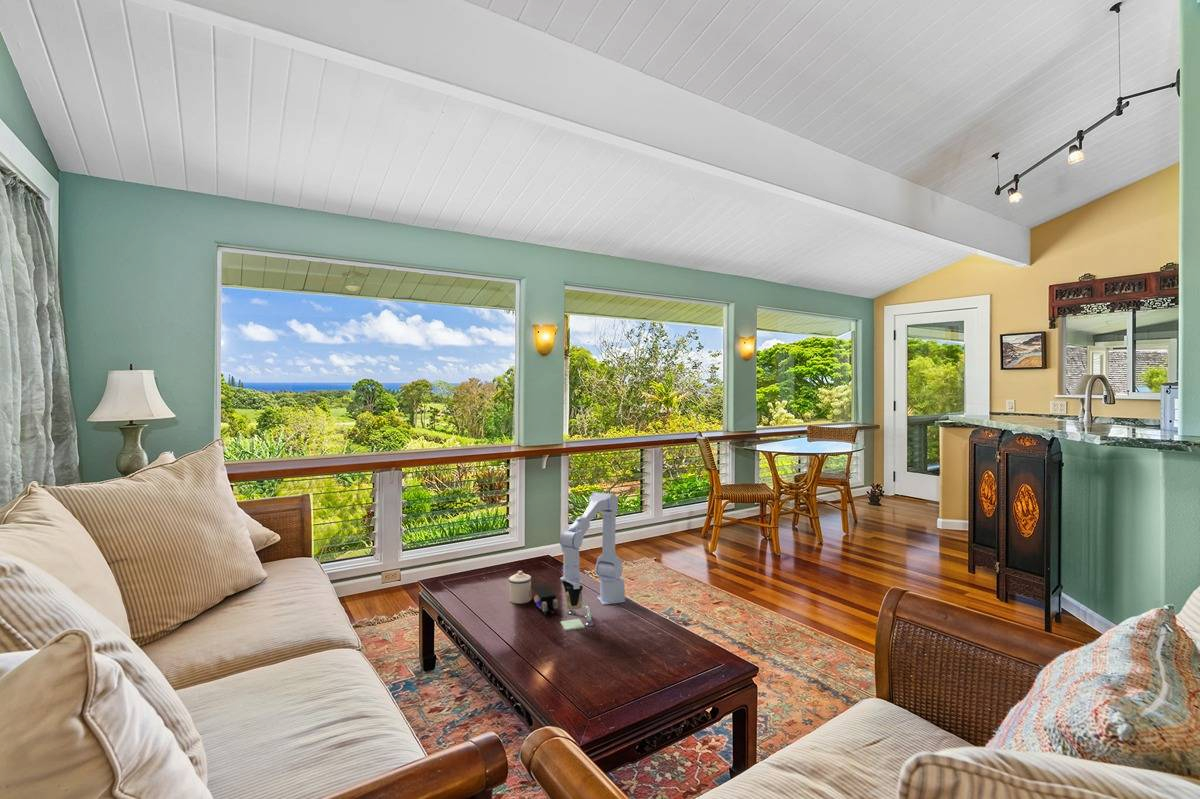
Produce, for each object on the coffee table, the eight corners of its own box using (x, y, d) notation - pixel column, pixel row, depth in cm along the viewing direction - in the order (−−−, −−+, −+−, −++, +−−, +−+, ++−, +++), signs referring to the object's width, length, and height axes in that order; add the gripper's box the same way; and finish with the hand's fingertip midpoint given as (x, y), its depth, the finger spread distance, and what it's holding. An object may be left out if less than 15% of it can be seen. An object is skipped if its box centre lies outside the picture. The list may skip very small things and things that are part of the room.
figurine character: (559, 618, 208) (546, 600, 221) (560, 599, 207) (546, 582, 220) (543, 621, 205) (530, 603, 218) (543, 602, 204) (530, 585, 218)
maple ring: (579, 602, 201) (579, 588, 201) (583, 608, 196) (583, 594, 196) (564, 604, 199) (564, 590, 199) (568, 610, 194) (568, 596, 194)
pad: (579, 620, 202) (579, 618, 202) (584, 628, 195) (584, 626, 195) (560, 623, 200) (560, 621, 200) (565, 630, 193) (565, 629, 193)
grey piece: (587, 609, 212) (586, 599, 212) (598, 624, 198) (598, 614, 198) (566, 611, 210) (566, 601, 210) (576, 628, 195) (576, 617, 195)
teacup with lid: (534, 601, 220) (534, 572, 220) (512, 605, 217) (512, 576, 216) (525, 592, 231) (525, 564, 231) (504, 595, 227) (504, 567, 227)
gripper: (556, 560, 203) (556, 596, 203) (565, 572, 189) (566, 611, 189) (574, 558, 205) (575, 594, 205) (585, 569, 191) (585, 608, 191)
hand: (572, 602), depth 197 cm, fingers closed on maple ring, 5 cm apart
